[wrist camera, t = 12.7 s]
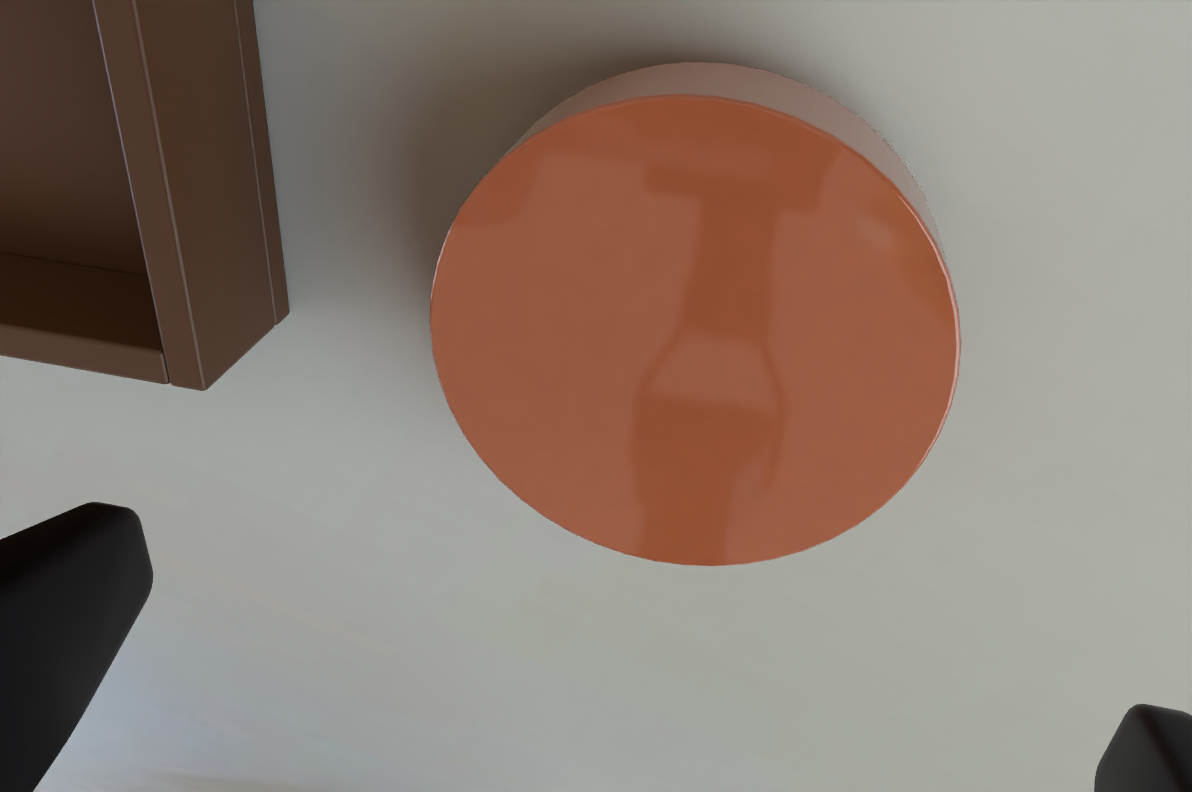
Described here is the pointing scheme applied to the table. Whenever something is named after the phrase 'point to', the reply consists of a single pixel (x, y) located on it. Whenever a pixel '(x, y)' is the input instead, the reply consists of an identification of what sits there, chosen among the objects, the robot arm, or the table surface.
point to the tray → (136, 188)
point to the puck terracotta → (698, 316)
